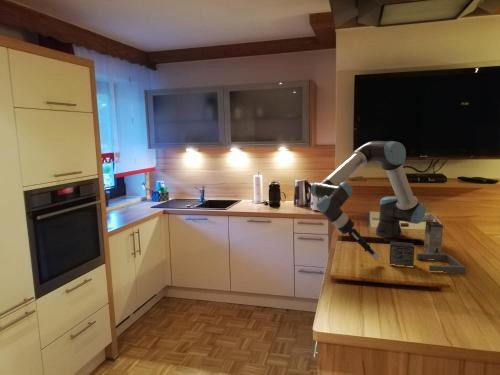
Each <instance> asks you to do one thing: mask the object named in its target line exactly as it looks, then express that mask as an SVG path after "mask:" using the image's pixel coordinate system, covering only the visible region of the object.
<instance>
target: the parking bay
mask: <svg viewBox="0 0 500 375" xmlns="http://www.w3.org/2000/svg"><path fill="white" fill-rule="evenodd" d="M416 258H417V259H434V260H433V261H442V260H446V261H445V262H447V263H448V264H449V265H445V264H444V265H443V264H441V265H440V264H438V265H436V264H431V265H430V264H429V266H428V271H429V270H430V271H443V272H447V273H446V274H461V275H463V274H466V266H465V265H463V263H461V262H459V261H458V260H457V259H455V258H454V257H453V256H452V255H450V253H441V254H437V253H426V252H416ZM416 258H415V259H416ZM417 259H416V260H417Z"/></svg>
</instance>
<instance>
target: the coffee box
mask: <svg viewBox="0 0 500 375" xmlns="http://www.w3.org/2000/svg"><path fill="white" fill-rule="evenodd" d="M424 228H425V230H424V231H425V232H424V246H423V251H424V253H437V254H442V245H443V244H442V243H443V231H444V226H443V225H442V224H441V222H439V221H425V227H424Z"/></svg>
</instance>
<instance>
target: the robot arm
mask: <svg viewBox="0 0 500 375" xmlns="http://www.w3.org/2000/svg"><path fill="white" fill-rule="evenodd" d="M406 155H407V151H406V148H405V146H404V145H403V143H401V142H400V141H399V142H398V141H393V140H390V141H389V140H388V141H386V140H385V141H383V140H372V141H369V142H366V143H364V144H362V145H361V146H359V147H358V148H357V149H355V150H354V151H353V152H352V154H351V156H350V157H349V158H347V160H345V161H344V162H343V163H342V164H340V165H339V166H338V167H337V168H336V169H334V171H333V172H331V173H330V174H329V175H328V176H326V177H325V178H324V179H323V180H322V181H321V182H313V183H312V185H311V187H310V193H311V195H312V196H313V197H315V198H318V199H319V200H318V201H317V202H316V208H317V209H318V211H319V212H320V213H321V214H322V215H323V216H324V217H326V218H327V219H328V220H329V222H330V223H331V225H332V226H334V227H335V228H336V229H337V230H338V231H339V232H340V233H341V234H343V235H346V234H348V236H349V237H350V238H351V239H352V240H354V241H355V242H357V243H358V244H359V245H360V246H361V248H363V249H364V252H365V253H366V252H367V253H368V254H369V255H370V256H371V257H372V258H373V259H374V260H375V261H377V260H378V259H379V258H380V257H381V256H380V254H378V253H377V251H376V250H374V248H373V247H372V246H371V243H368V242H366V240H365V239H364V237H362V236H361V234H360V233H359V232H358V231H357V229H356V228H355V227H354V226H355V222H354V221H353V220H352V219H351V218H349V216H348V215H347V214H346V213H345V212H344V211H343V210H342V209H341V208H342V206H343V205H344V204H345V203H346V202H347V201H348V199H350V197H351V196H352V194H353V192H354V189H353V187H352V185H350V184H349V183H348V182H346V180H348V179H349V178H350V177H351V176H353V174H354V173H356V172H357V171H358V170H359V169H360V168H361V167H364V166H367V164H370V163H375V164H376V163H377V164H380V167H381V169H382V170H383V171H386V175H387V176H388V179H389V182H390V185H391V186H392V190H393V191H394V194H395V195H394V196H387V197H382V198H381V199H380V201H379V219H378V224H377V226H376V229H375V235H377V236H379V237H381V238H382V237H383V238H388V239H391V238H392V239H393V238H395V239H396V238H401V237H402V236H403V231H402V227H401V224H400V221H401V222H405V223H409V224H416V225H417V224H420V223H421V222H422V221H423V220H424V218H425V216H426V212H427V208H426V206H425V204H423V203H420V202H419V199H418V198H417V196H415V195H414V193H413V190H412V188H411V186H410V185H411V184H409V181H408V178H407V175H406V172H405V169H404V166H403V165H404V163H405V160H406V158H407V156H406Z"/></svg>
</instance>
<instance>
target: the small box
mask: <svg viewBox="0 0 500 375" xmlns="http://www.w3.org/2000/svg"><path fill="white" fill-rule="evenodd" d="M389 244H390V246H389V261H390V263H389V265H390V264H395V265H404V266H414V265H415V264H414V262H415V245H414V243H412V242H399V241H390V243H389Z"/></svg>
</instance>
